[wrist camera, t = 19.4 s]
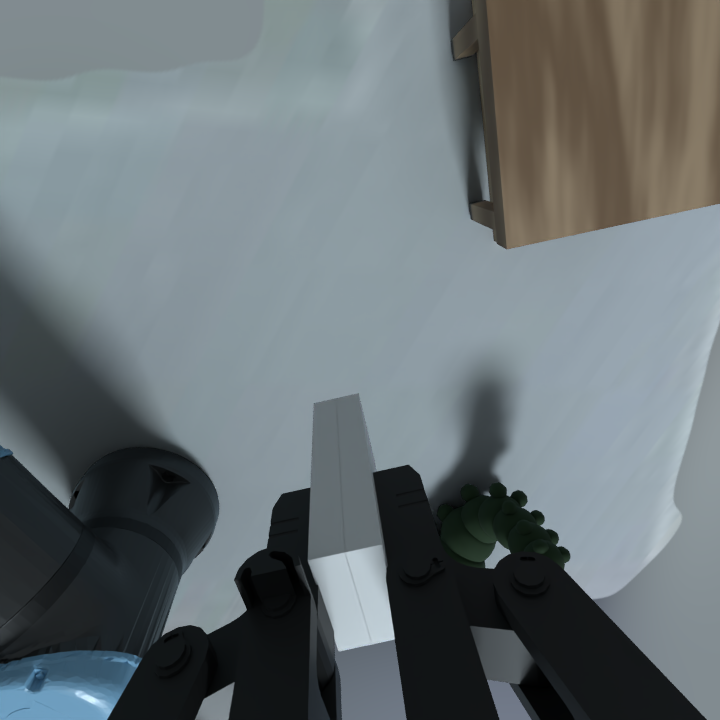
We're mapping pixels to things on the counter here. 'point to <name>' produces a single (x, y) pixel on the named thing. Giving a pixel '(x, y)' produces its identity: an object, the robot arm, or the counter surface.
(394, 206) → the counter surface
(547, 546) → the toy figurine
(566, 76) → the footstool
